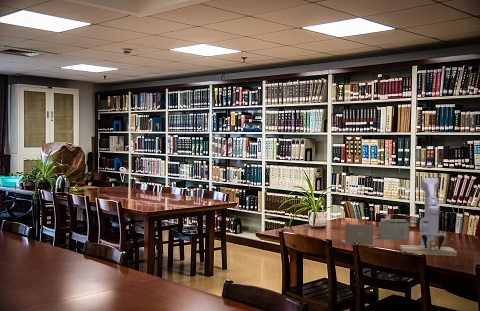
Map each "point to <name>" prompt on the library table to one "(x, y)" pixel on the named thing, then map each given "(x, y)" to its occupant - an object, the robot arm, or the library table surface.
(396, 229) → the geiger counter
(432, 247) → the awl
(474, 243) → the library table surface
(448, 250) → the board
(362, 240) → the laptop
